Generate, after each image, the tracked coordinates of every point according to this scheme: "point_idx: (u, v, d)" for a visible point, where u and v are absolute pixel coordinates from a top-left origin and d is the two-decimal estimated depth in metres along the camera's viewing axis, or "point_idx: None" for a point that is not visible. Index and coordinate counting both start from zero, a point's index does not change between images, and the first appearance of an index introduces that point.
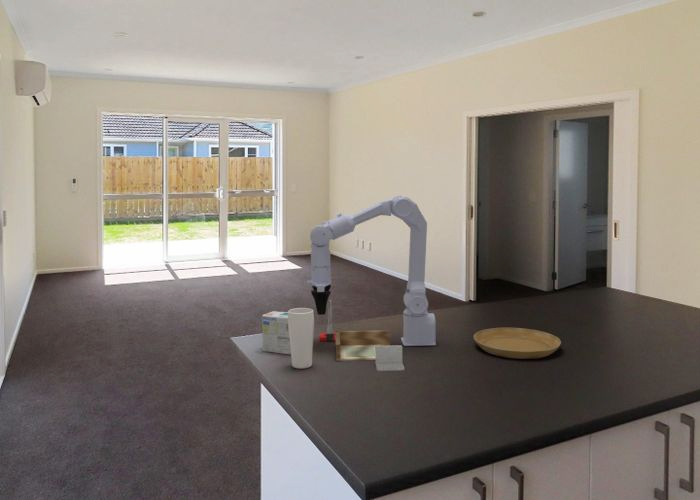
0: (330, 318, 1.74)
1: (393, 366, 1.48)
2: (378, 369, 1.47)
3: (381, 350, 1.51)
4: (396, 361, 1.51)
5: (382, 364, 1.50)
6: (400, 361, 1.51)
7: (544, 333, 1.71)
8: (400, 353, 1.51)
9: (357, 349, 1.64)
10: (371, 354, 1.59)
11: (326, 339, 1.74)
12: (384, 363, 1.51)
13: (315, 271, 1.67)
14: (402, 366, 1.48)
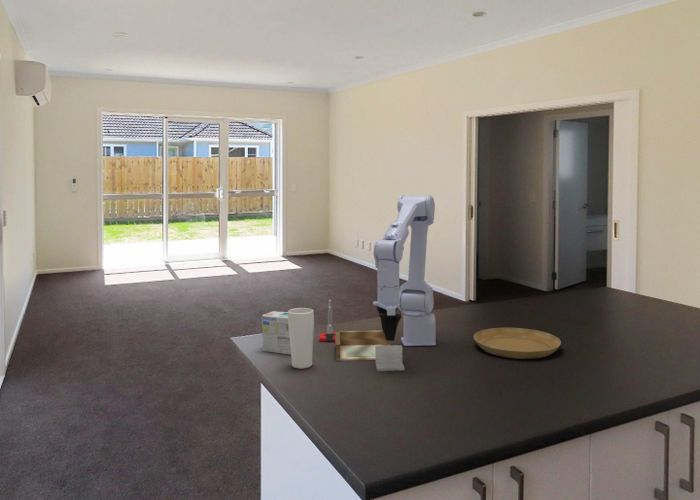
0: (330, 318, 1.74)
1: (393, 366, 1.48)
2: (378, 369, 1.47)
3: (381, 350, 1.51)
4: (396, 361, 1.51)
5: (382, 364, 1.50)
6: (400, 361, 1.51)
7: (544, 333, 1.71)
8: (400, 353, 1.51)
9: (357, 349, 1.64)
10: (371, 354, 1.59)
11: (326, 339, 1.74)
12: (384, 363, 1.51)
13: (383, 291, 1.47)
14: (402, 366, 1.48)
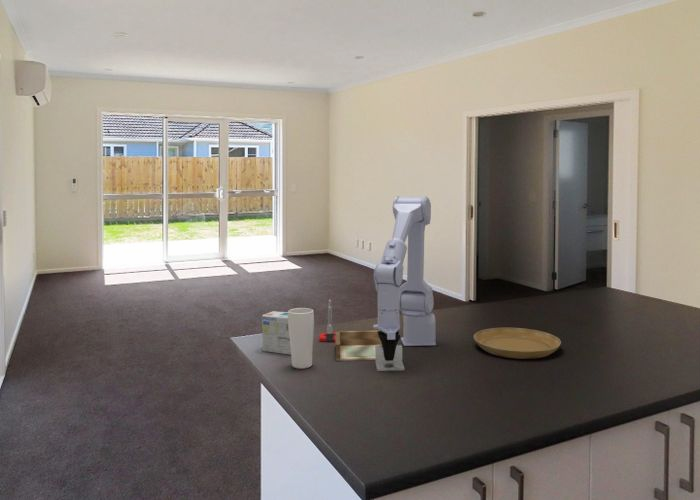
0: (330, 318, 1.74)
1: (393, 366, 1.48)
2: (378, 369, 1.47)
3: (381, 350, 1.51)
4: (396, 361, 1.51)
5: (382, 363, 1.50)
6: (400, 361, 1.51)
7: (544, 333, 1.71)
8: (400, 353, 1.51)
9: (357, 349, 1.64)
10: (371, 354, 1.59)
11: (326, 339, 1.74)
12: (384, 363, 1.51)
13: (383, 315, 1.48)
14: (402, 366, 1.48)
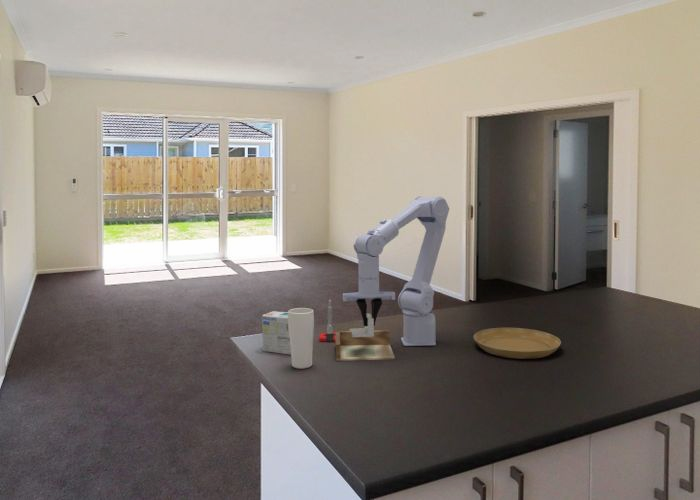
0: (330, 318, 1.74)
1: (355, 332, 1.60)
2: None
3: None
4: (367, 331, 1.59)
5: (361, 329, 1.63)
6: (367, 332, 1.58)
7: (544, 333, 1.71)
8: (367, 324, 1.58)
9: (357, 349, 1.64)
10: (371, 354, 1.59)
11: (326, 339, 1.74)
12: (363, 329, 1.62)
13: None
14: (355, 334, 1.58)
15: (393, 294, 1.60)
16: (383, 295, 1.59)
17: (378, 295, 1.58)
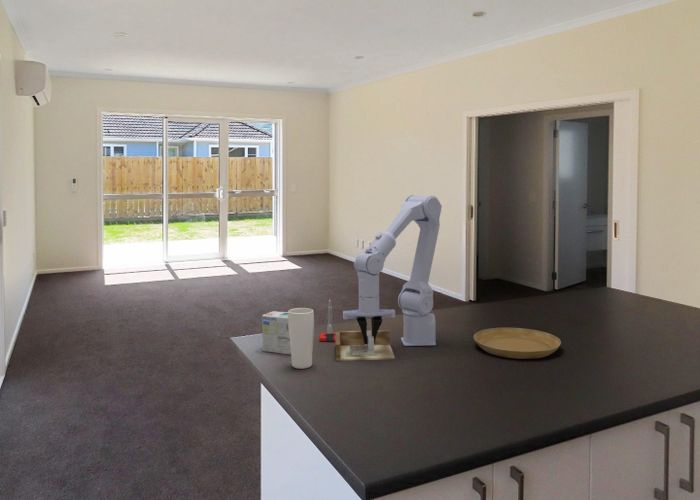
0: (330, 318, 1.74)
1: (355, 350, 1.61)
2: None
3: None
4: (367, 349, 1.60)
5: (362, 347, 1.63)
6: (368, 350, 1.59)
7: (544, 333, 1.71)
8: (367, 343, 1.59)
9: None
10: None
11: (326, 339, 1.74)
12: (363, 347, 1.63)
13: None
14: (356, 352, 1.58)
15: (393, 312, 1.60)
16: (383, 313, 1.59)
17: (378, 313, 1.59)
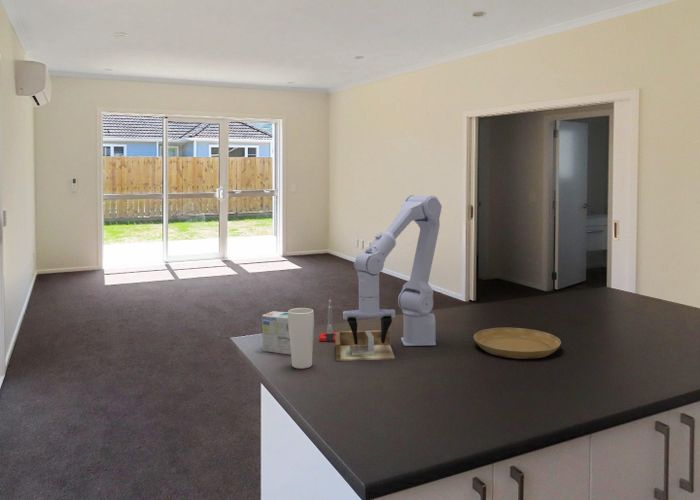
0: (330, 318, 1.74)
1: (355, 350, 1.61)
2: None
3: (365, 335, 1.63)
4: (367, 349, 1.60)
5: (362, 347, 1.63)
6: (368, 350, 1.59)
7: (544, 333, 1.71)
8: (367, 343, 1.59)
9: None
10: None
11: (326, 339, 1.74)
12: (363, 347, 1.63)
13: None
14: (356, 352, 1.58)
15: (393, 312, 1.60)
16: (383, 313, 1.59)
17: (378, 313, 1.59)
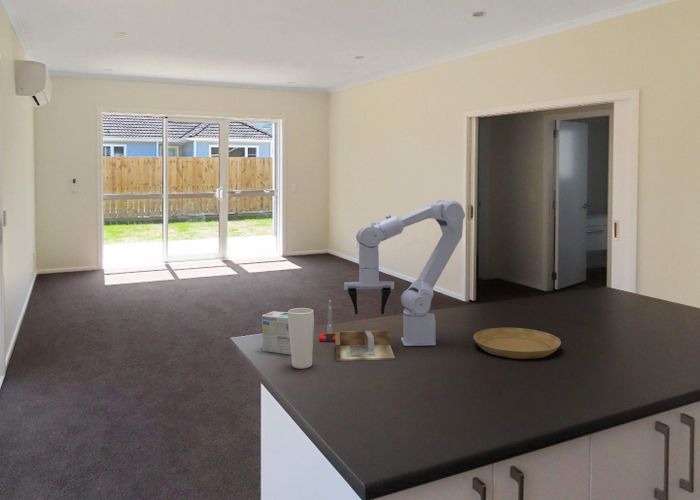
0: (330, 318, 1.74)
1: (355, 350, 1.61)
2: None
3: (365, 335, 1.63)
4: (367, 349, 1.60)
5: (362, 347, 1.63)
6: (368, 350, 1.59)
7: (544, 333, 1.71)
8: (367, 343, 1.59)
9: None
10: None
11: (326, 339, 1.74)
12: (363, 347, 1.63)
13: None
14: (356, 352, 1.58)
15: (392, 284, 1.66)
16: (382, 284, 1.65)
17: (377, 284, 1.64)
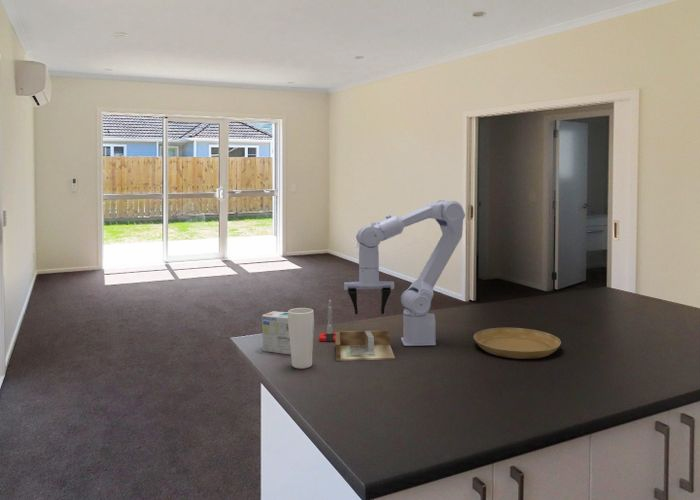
0: (330, 318, 1.74)
1: (355, 350, 1.61)
2: None
3: (365, 335, 1.63)
4: (367, 349, 1.60)
5: (362, 347, 1.63)
6: (368, 350, 1.59)
7: (544, 333, 1.71)
8: (367, 343, 1.59)
9: None
10: None
11: (326, 339, 1.74)
12: (363, 347, 1.63)
13: None
14: (356, 352, 1.58)
15: (392, 284, 1.66)
16: (382, 284, 1.65)
17: (377, 284, 1.64)
